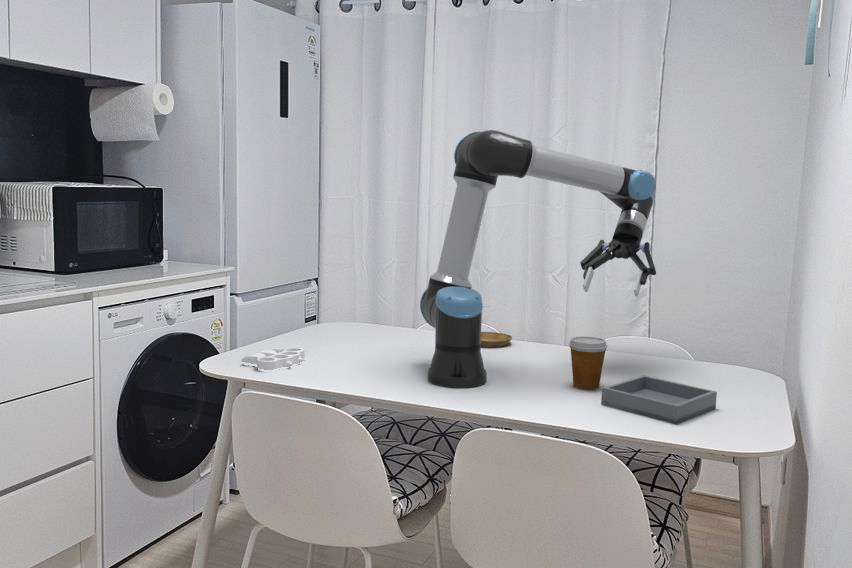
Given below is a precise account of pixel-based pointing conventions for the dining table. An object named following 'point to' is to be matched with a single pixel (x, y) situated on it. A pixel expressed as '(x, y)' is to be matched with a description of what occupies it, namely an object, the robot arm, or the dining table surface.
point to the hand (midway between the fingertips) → (609, 291)
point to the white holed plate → (276, 358)
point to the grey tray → (659, 399)
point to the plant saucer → (494, 339)
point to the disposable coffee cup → (587, 361)
